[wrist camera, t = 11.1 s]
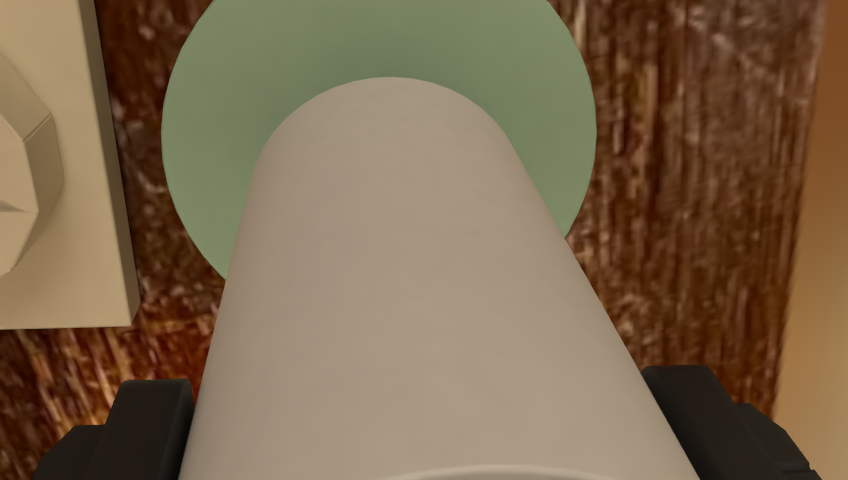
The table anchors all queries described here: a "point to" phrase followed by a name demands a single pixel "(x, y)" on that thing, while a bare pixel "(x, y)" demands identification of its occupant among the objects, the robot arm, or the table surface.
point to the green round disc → (357, 60)
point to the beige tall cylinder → (413, 313)
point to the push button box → (60, 174)
